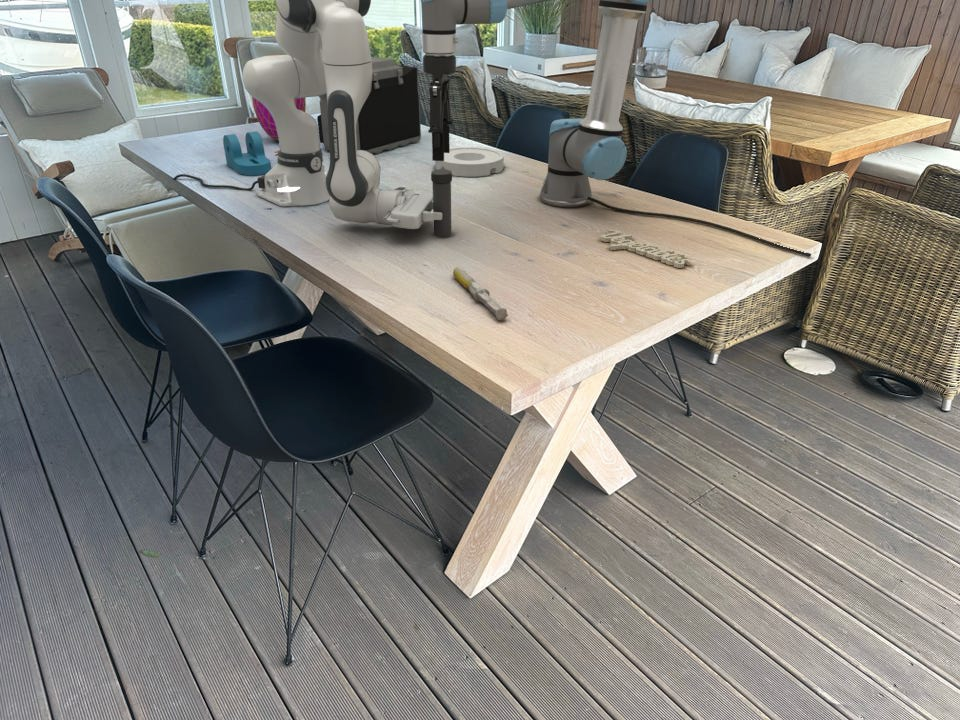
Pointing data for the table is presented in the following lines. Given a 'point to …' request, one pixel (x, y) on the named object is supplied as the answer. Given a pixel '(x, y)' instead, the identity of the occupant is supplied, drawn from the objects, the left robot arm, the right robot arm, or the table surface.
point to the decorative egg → (266, 117)
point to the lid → (441, 176)
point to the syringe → (479, 293)
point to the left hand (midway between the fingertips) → (445, 211)
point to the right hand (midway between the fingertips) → (441, 156)
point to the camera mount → (246, 154)
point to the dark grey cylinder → (442, 209)
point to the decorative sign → (644, 249)
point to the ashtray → (471, 161)
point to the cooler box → (384, 109)
